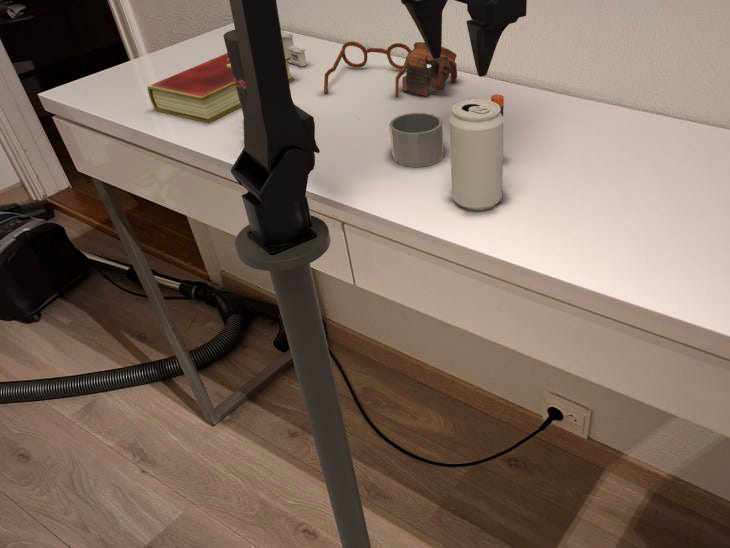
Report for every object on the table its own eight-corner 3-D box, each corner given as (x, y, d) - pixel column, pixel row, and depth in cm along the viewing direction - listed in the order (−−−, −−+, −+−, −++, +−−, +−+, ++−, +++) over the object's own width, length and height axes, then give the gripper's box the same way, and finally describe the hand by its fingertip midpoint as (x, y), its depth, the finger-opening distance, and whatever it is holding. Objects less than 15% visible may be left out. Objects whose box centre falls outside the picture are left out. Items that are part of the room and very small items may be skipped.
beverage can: (474, 184, 89) (472, 93, 81) (512, 198, 86) (514, 105, 78) (442, 202, 86) (437, 109, 78) (481, 218, 82) (480, 123, 74)
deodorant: (271, 153, 97) (245, 43, 87) (241, 144, 99) (213, 36, 89) (299, 138, 101) (278, 31, 91) (270, 130, 103) (246, 25, 93)
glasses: (414, 71, 122) (412, 41, 119) (397, 97, 112) (395, 66, 109) (345, 68, 124) (341, 39, 120) (322, 94, 114) (317, 63, 111)
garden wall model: (308, 65, 125) (302, 31, 121) (300, 68, 124) (294, 33, 120) (269, 52, 131) (262, 19, 127) (261, 55, 130) (254, 22, 126)
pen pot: (413, 172, 92) (411, 138, 89) (383, 155, 96) (379, 122, 93) (453, 156, 96) (452, 123, 92) (422, 140, 100) (420, 108, 96)
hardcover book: (154, 110, 110) (145, 84, 107) (243, 70, 123) (237, 45, 121) (209, 123, 105) (201, 96, 103) (294, 80, 119) (289, 55, 116)
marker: (496, 165, 93) (497, 100, 87) (488, 161, 94) (488, 96, 88) (505, 161, 94) (506, 96, 88) (497, 157, 95) (497, 93, 89)
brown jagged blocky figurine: (389, 89, 117) (400, 39, 115) (436, 104, 122) (447, 57, 120) (420, 91, 107) (432, 37, 105) (469, 108, 113) (482, 56, 111)
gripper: (565, -74, 75) (554, 71, 85) (457, -94, 85) (460, 38, 96) (490, -62, 69) (489, 92, 80) (385, -84, 80) (396, 54, 90)
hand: (458, 66), depth 86 cm, fingers open, 9 cm apart
